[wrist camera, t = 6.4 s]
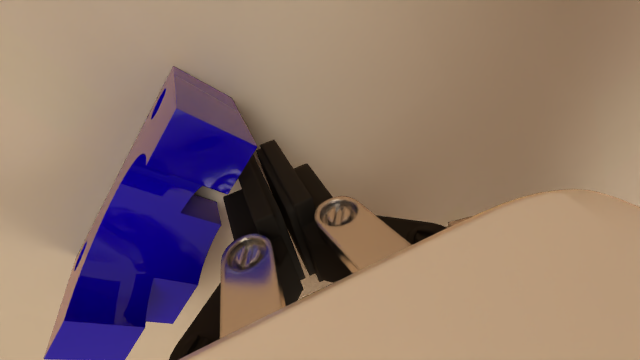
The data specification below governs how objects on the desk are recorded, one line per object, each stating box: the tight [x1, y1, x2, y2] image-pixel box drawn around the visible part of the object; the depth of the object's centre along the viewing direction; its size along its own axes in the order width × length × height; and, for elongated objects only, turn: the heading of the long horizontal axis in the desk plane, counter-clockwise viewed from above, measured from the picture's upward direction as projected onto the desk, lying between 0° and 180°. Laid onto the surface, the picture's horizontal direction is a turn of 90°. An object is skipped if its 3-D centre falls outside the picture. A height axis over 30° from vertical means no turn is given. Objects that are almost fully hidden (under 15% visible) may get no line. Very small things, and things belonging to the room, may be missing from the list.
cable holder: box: [44, 66, 257, 360], centre depth 10 cm, size 8×4×4 cm, turn 145°
